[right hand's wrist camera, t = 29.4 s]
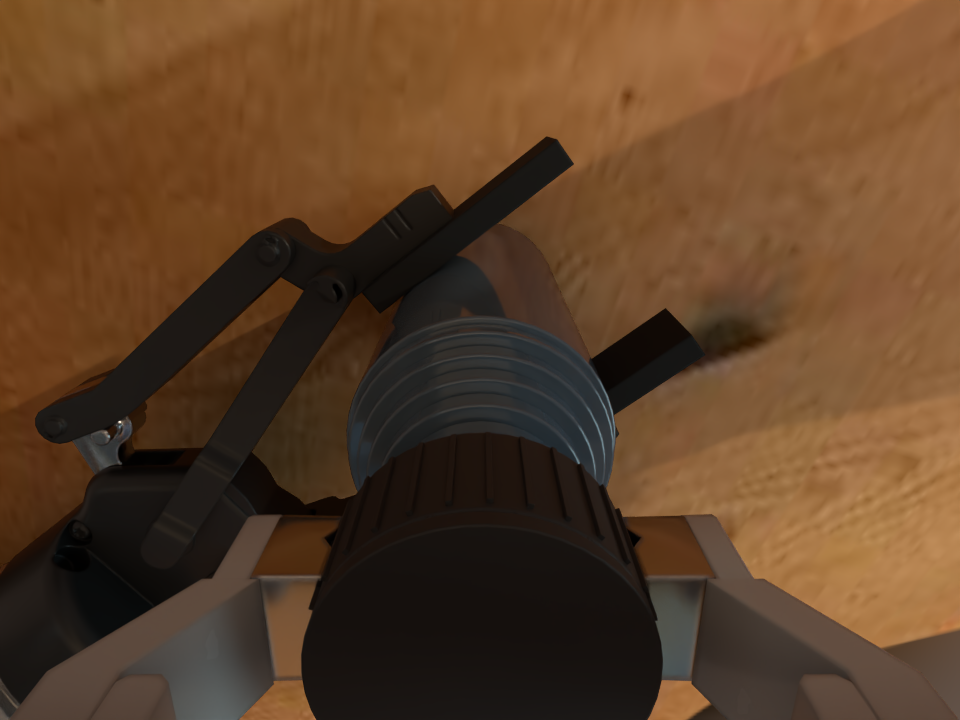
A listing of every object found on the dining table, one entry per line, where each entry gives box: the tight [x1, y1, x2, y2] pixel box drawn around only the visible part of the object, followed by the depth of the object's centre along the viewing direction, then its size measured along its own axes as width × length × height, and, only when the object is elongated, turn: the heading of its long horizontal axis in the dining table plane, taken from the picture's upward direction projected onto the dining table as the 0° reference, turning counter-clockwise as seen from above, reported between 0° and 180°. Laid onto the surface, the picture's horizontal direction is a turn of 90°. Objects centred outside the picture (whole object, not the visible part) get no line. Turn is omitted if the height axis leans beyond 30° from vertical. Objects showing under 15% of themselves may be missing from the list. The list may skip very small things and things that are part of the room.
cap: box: [301, 432, 663, 720], centre depth 9 cm, size 5×5×2 cm
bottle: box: [347, 224, 616, 491], centre depth 17 cm, size 6×6×18 cm
